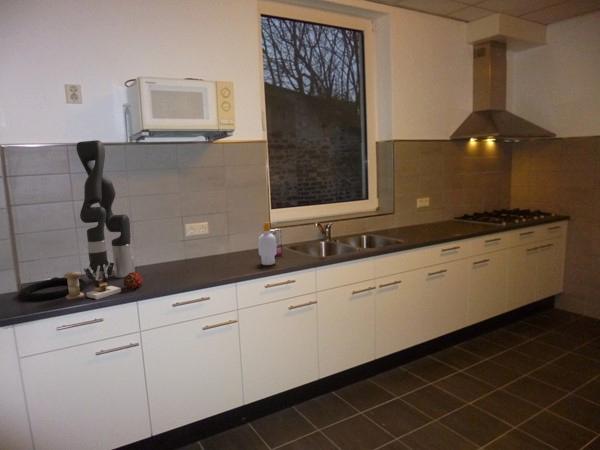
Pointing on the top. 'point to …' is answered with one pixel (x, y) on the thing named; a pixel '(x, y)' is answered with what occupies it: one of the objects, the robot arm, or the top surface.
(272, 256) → the soap bottle
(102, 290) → the brown wooden block
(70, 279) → the bobbin
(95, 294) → the notch board
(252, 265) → the top surface
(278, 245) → the candy bar box
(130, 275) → the dragon fruit
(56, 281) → the cable lock
